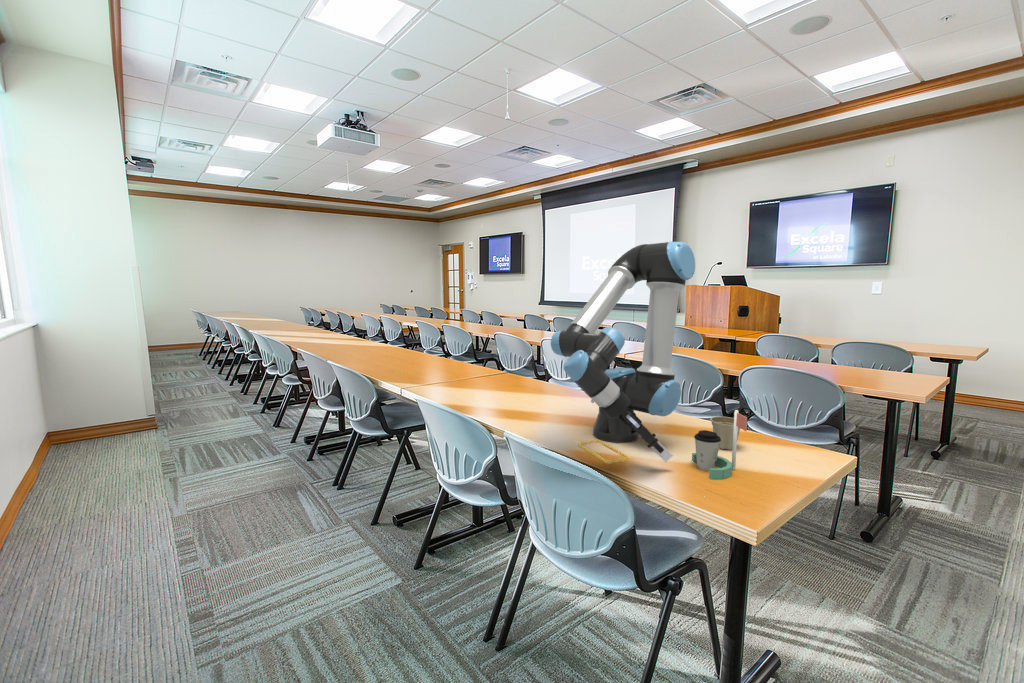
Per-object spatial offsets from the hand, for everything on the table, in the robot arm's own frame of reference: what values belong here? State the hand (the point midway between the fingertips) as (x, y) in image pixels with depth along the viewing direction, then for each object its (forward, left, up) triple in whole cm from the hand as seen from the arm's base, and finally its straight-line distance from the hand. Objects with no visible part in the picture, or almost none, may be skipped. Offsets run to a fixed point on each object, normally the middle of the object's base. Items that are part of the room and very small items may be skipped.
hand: (668, 458), depth 124 cm
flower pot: (-18, +25, -4) cm, 31 cm away
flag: (+2, +18, -4) cm, 19 cm away
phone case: (-15, -15, -4) cm, 21 cm away
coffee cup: (-2, +12, -4) cm, 12 cm away
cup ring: (0, +13, -4) cm, 14 cm away
